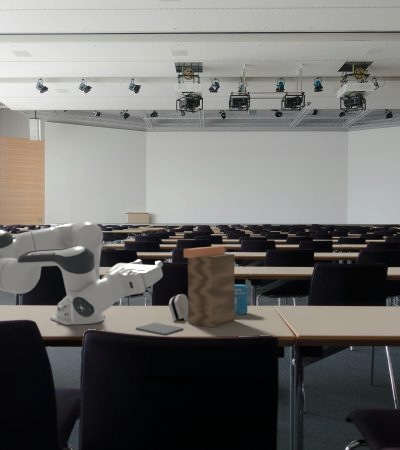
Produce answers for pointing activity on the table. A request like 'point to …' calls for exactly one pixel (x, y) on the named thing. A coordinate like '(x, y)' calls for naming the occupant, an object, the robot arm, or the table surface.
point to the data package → (240, 299)
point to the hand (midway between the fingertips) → (150, 262)
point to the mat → (159, 328)
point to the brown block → (211, 290)
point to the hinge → (179, 307)
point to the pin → (204, 251)
